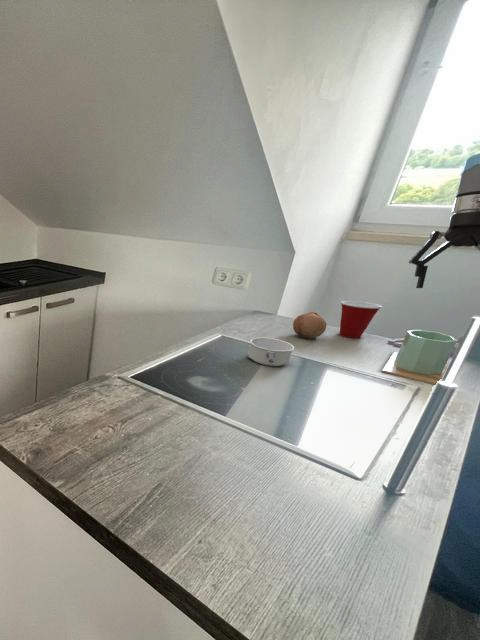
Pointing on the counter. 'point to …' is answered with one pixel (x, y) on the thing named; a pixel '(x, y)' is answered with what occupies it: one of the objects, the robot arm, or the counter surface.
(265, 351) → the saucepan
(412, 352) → the tumbler
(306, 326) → the onion
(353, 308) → the plastic cup
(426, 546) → the counter surface
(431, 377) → the wooden cutting board
